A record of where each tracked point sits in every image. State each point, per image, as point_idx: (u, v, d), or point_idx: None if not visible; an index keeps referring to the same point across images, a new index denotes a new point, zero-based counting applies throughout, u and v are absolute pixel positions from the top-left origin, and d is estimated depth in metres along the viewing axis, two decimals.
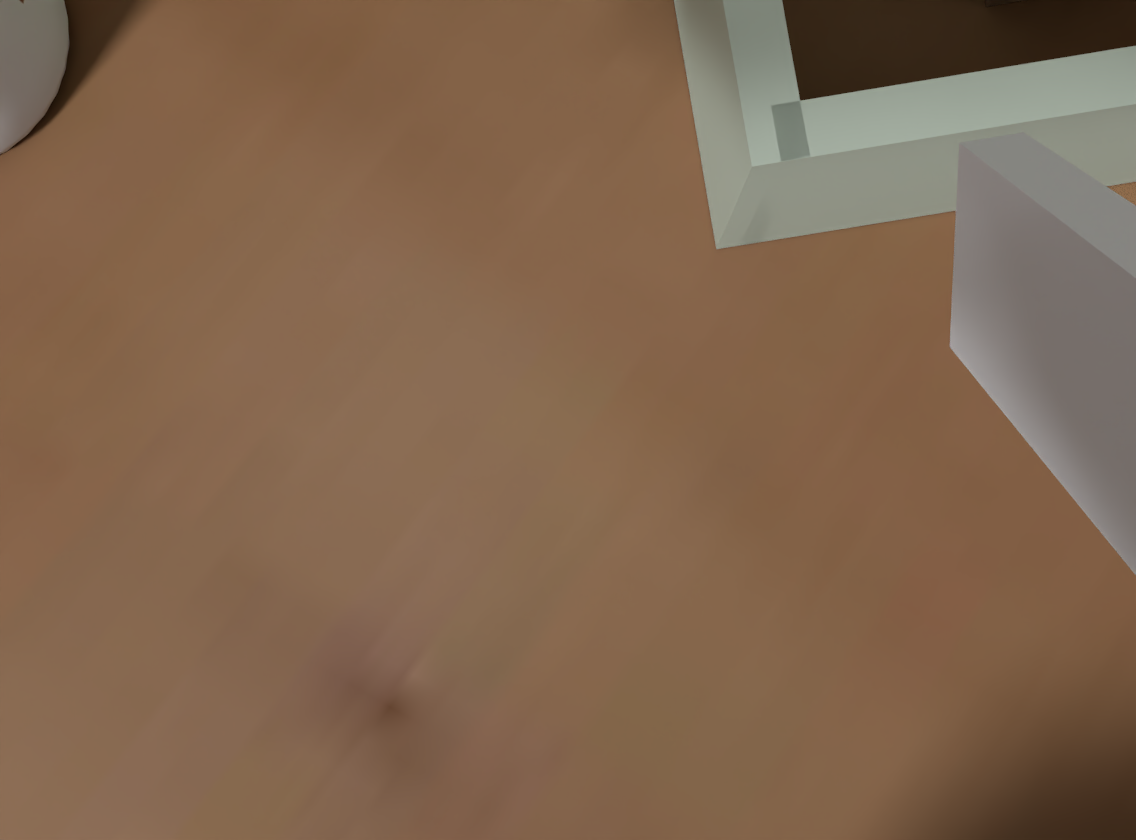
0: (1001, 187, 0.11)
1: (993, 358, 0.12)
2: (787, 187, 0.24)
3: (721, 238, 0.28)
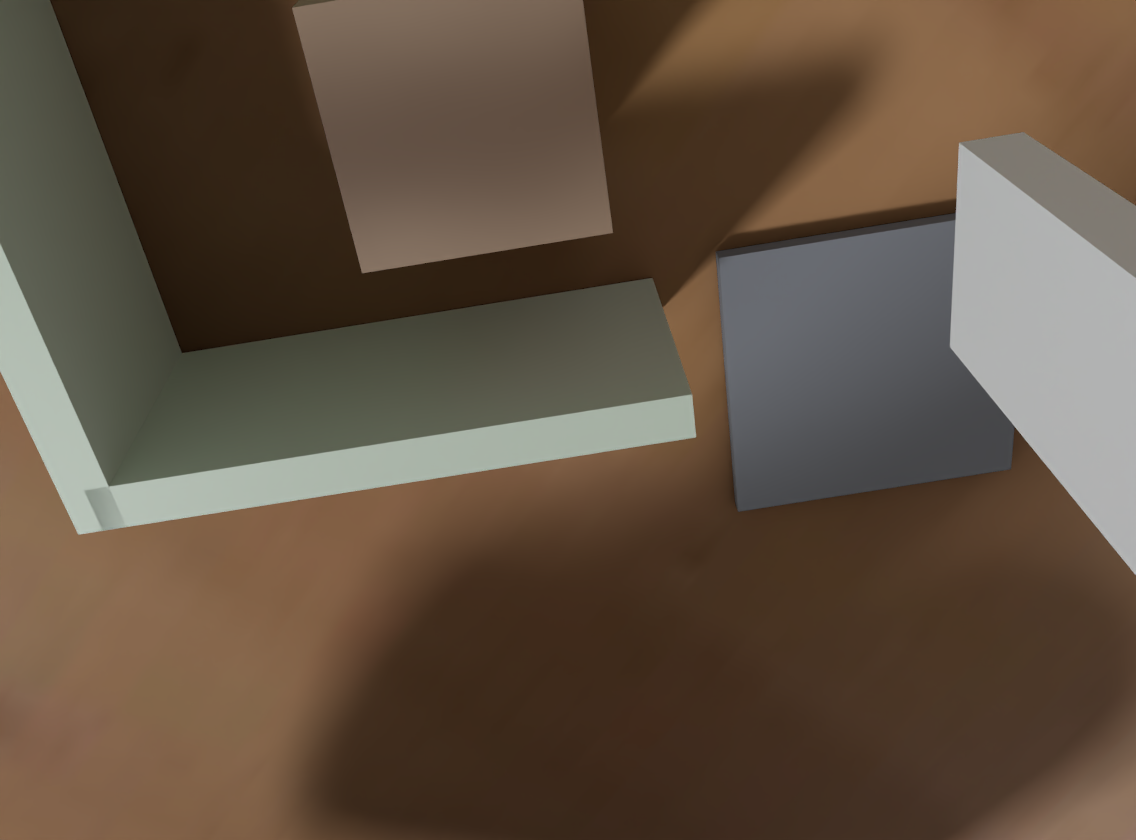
0: (1001, 187, 0.11)
1: (993, 358, 0.12)
2: None
3: None
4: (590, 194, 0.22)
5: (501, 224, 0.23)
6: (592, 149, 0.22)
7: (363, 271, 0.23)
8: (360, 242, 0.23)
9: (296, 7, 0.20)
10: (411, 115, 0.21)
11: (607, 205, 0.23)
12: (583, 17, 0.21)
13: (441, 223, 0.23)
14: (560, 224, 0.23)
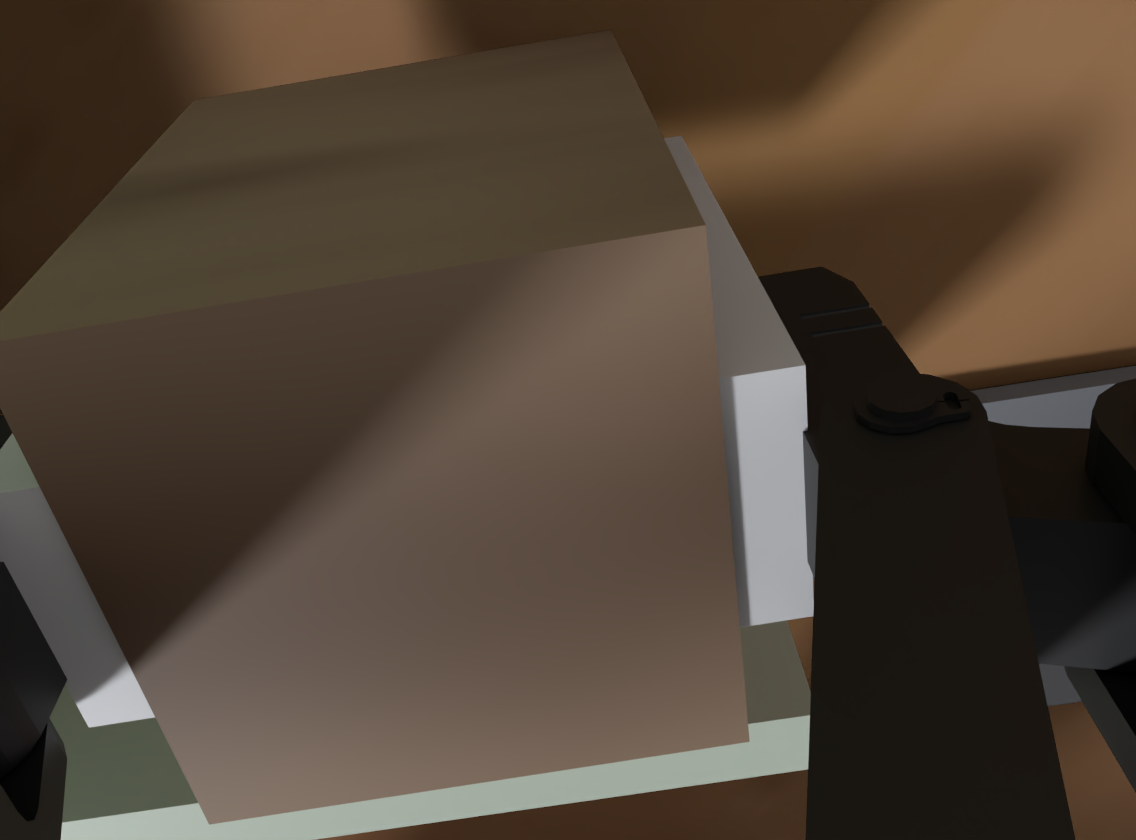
0: None
1: None
2: None
3: None
4: (705, 681, 0.10)
5: (508, 737, 0.10)
6: (714, 602, 0.10)
7: (212, 820, 0.11)
8: (200, 776, 0.10)
9: None
10: (295, 555, 0.09)
11: (741, 696, 0.10)
12: (712, 350, 0.08)
13: (376, 739, 0.10)
14: (636, 732, 0.10)
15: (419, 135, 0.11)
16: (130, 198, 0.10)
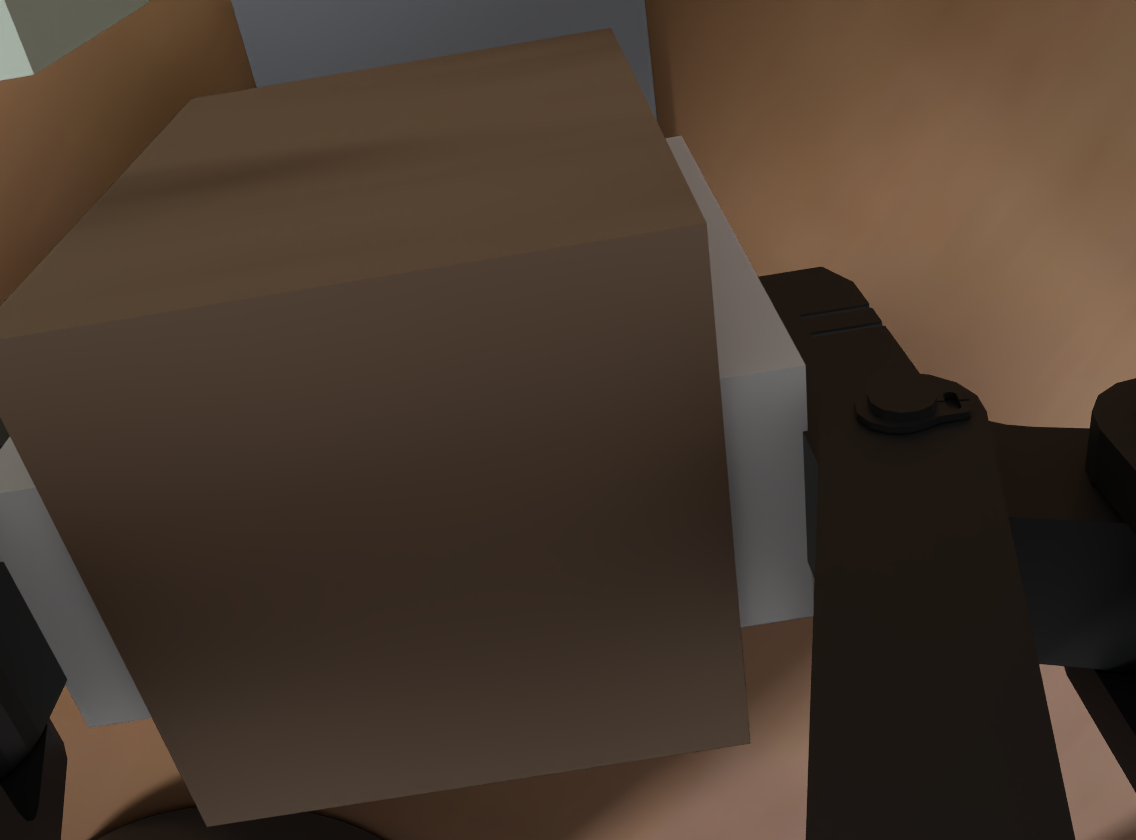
0: None
1: None
2: None
3: None
4: (706, 683, 0.10)
5: (507, 738, 0.10)
6: (716, 603, 0.10)
7: (209, 822, 0.11)
8: (198, 777, 0.10)
9: None
10: (294, 554, 0.09)
11: (742, 698, 0.10)
12: (713, 349, 0.08)
13: (373, 741, 0.10)
14: (635, 733, 0.10)
15: (418, 133, 0.11)
16: (127, 197, 0.10)
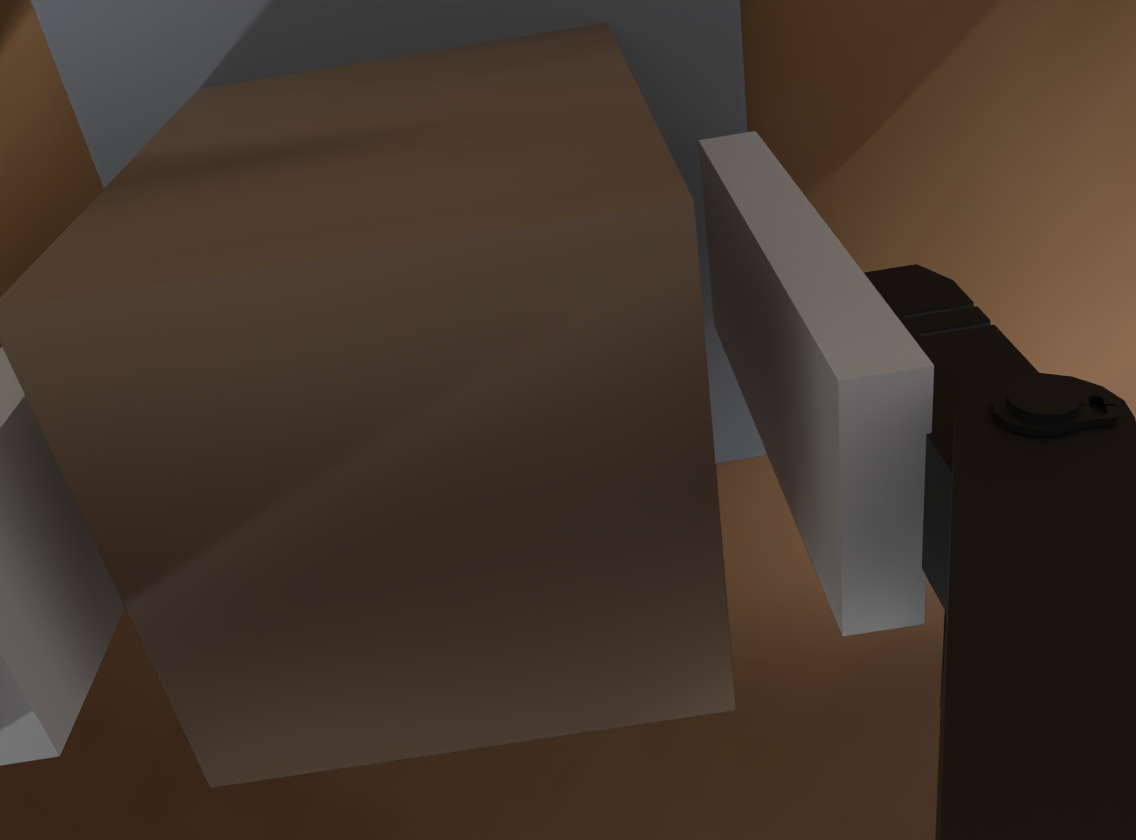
0: (716, 179, 0.13)
1: (729, 333, 0.14)
2: None
3: None
4: (693, 649, 0.10)
5: (501, 703, 0.11)
6: (702, 571, 0.10)
7: (213, 783, 0.11)
8: (202, 738, 0.11)
9: None
10: (296, 521, 0.09)
11: (727, 665, 0.11)
12: (700, 323, 0.09)
13: (373, 704, 0.11)
14: (625, 698, 0.11)
15: (419, 120, 0.11)
16: (139, 178, 0.11)
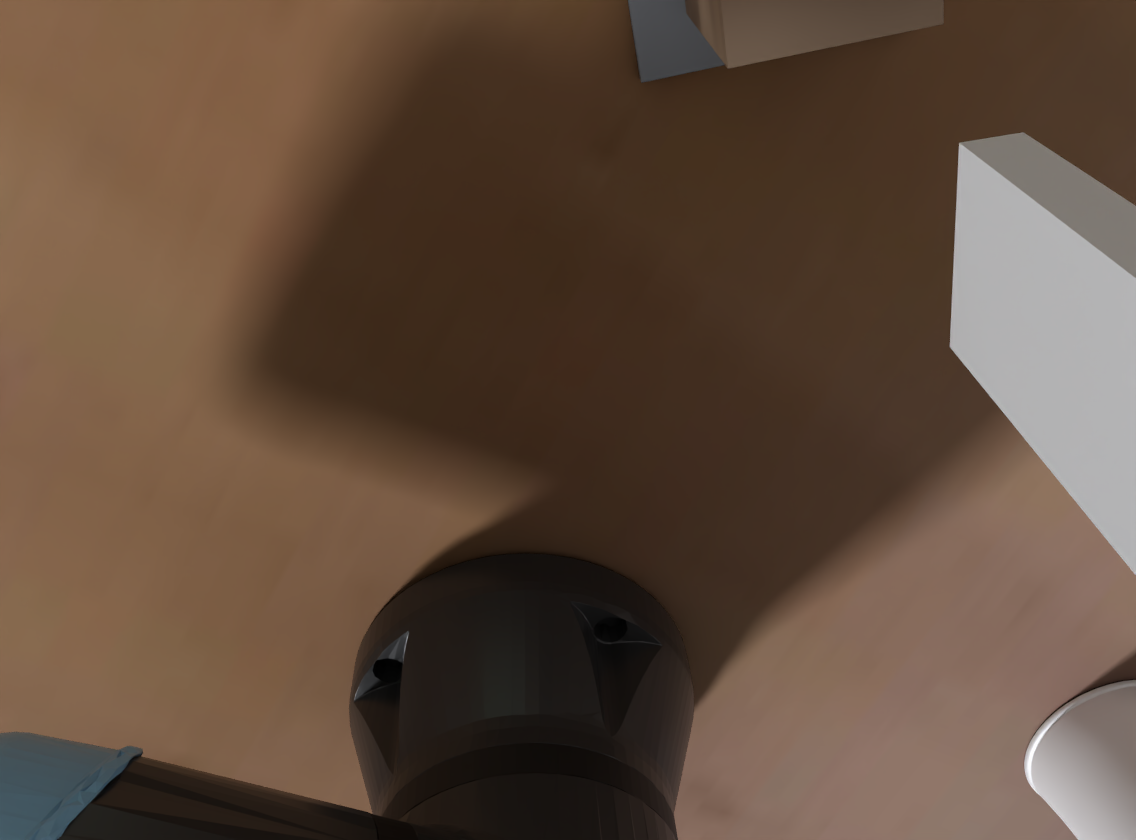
0: (1001, 187, 0.11)
1: (993, 358, 0.12)
2: None
3: None
4: None
5: (850, 19, 0.27)
6: None
7: (729, 67, 0.27)
8: (730, 39, 0.27)
9: None
10: None
11: None
12: None
13: (800, 19, 0.27)
14: (899, 17, 0.27)
15: None
16: None
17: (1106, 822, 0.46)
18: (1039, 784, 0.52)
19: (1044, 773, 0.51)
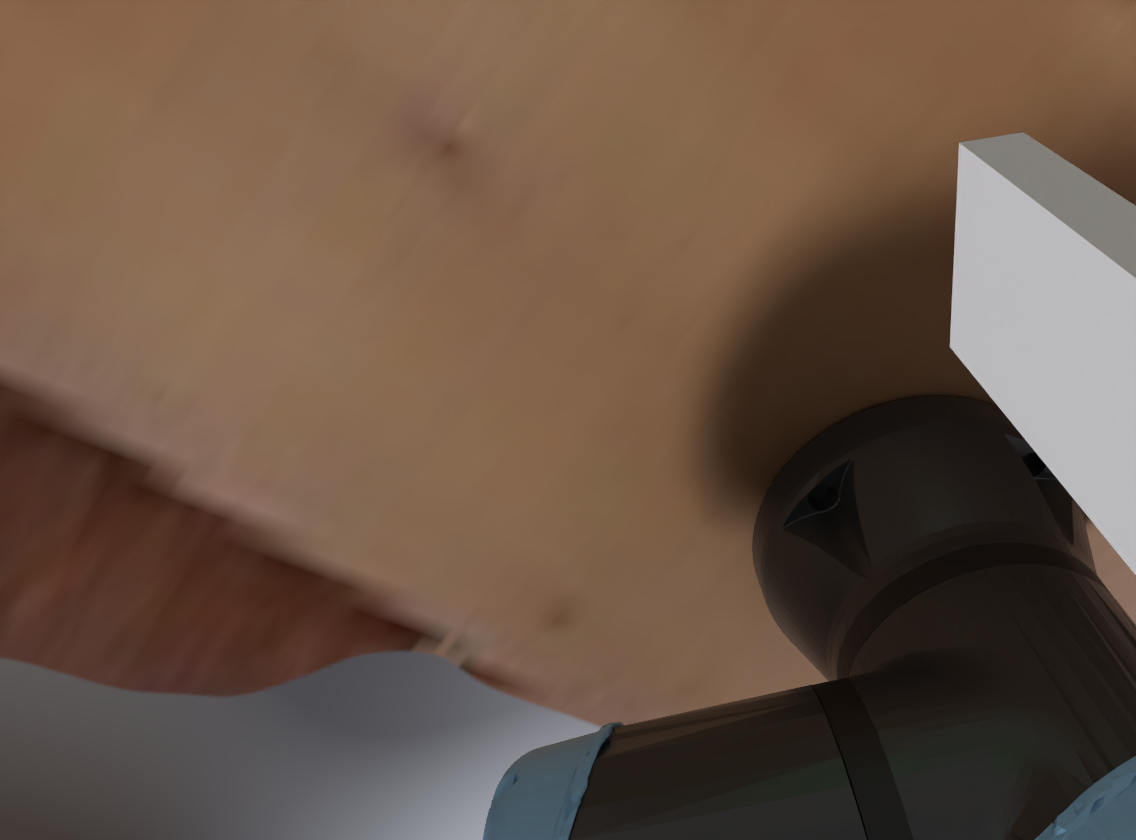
0: (1001, 187, 0.11)
1: (993, 358, 0.12)
2: None
3: None
4: None
5: None
6: None
7: None
8: None
9: None
10: None
11: None
12: None
13: None
14: None
15: None
16: None
17: None
18: None
19: None
